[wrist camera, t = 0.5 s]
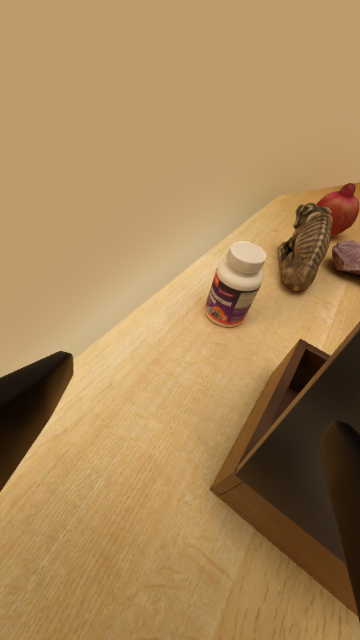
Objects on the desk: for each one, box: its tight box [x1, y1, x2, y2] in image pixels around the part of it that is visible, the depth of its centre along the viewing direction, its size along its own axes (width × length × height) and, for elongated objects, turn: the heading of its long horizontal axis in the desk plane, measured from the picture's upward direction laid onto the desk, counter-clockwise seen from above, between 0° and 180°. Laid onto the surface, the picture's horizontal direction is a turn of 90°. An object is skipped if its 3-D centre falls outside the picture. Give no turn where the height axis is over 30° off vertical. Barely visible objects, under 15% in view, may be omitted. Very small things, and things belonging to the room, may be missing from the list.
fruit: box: [316, 183, 359, 235], centre depth 51 cm, size 8×8×10 cm
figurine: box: [278, 203, 332, 291], centre depth 39 cm, size 6×14×10 cm, turn 159°
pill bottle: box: [205, 241, 266, 327], centre depth 30 cm, size 5×5×10 cm
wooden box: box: [210, 339, 358, 616], centre depth 20 cm, size 14×14×7 cm
